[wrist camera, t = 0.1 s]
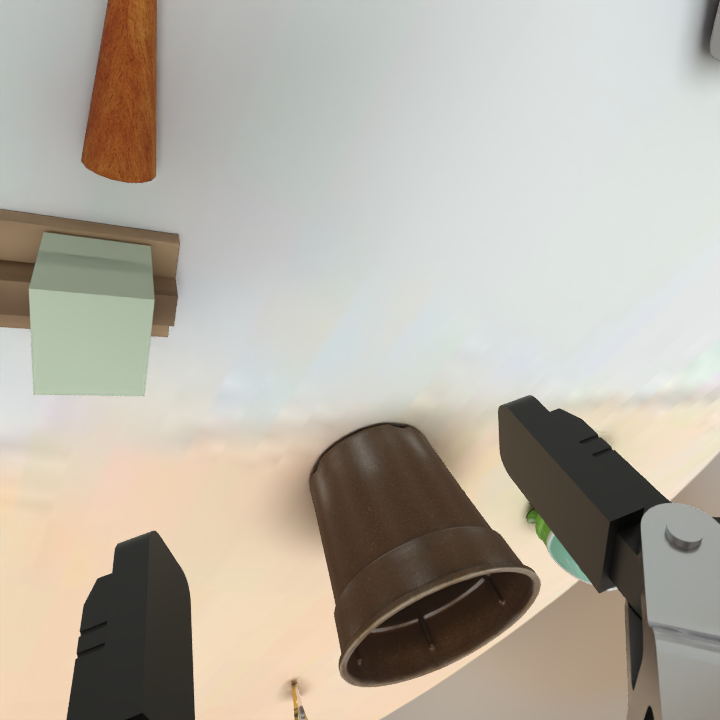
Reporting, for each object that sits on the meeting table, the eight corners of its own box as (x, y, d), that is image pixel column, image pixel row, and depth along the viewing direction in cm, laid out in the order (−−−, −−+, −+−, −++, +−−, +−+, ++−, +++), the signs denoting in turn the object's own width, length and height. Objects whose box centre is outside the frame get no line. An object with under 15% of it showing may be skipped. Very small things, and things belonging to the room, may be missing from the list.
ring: (282, 679, 75) (295, 742, 69) (304, 671, 76) (318, 733, 70) (284, 696, 79) (297, 757, 74) (305, 689, 80) (319, 748, 75)
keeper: (43, 231, 26) (28, 288, 22) (150, 246, 28) (154, 299, 24) (46, 329, 29) (33, 394, 25) (142, 335, 32) (144, 396, 28)
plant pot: (469, 459, 55) (560, 605, 43) (342, 538, 57) (398, 699, 45) (408, 375, 44) (510, 541, 32) (252, 477, 45) (296, 670, 34)
